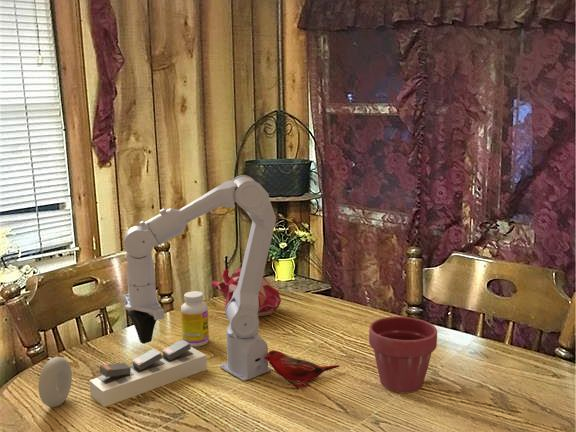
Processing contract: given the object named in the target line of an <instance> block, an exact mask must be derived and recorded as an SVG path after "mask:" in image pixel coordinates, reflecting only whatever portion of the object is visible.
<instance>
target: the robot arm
mask: <svg viewBox="0 0 576 432" xmlns="http://www.w3.org/2000/svg"><path fill="white" fill-rule="evenodd" d="M269 194H270V193H268V192H267V191H266V189H265V188H264V187H263V186H262V184H261V183H259V182H257V181H255V179H254V178H252V177H251V176H249V175H245V174H241V175H238V176H235V177H234V178H233V179H232V180H231V179H230V180H225V181H224V182H223V183H221V184H219V185H218V186H215V188H212V189H211V190H209V191H208V192H205V194H202V195H201V196H199V197H198V198H196V199H195V200H193V201H190V203H188V204H186V205H184V206H183V207H181V208H179V209H178V208H173V207H169V208H168V209H165V208H162V209H160V210H159V214H157V215H155V216H153V217H152V218H150V219H148V220H146V221H144V220H142V221H140V222H139V225H134V226H131V227H130V228H129V229H127V231H126V233H125V234H124V238H123V245H124V249H125V251H126V254H125V259H126V263H125V267H126V268H125V269H126V279H127V289H128V290H127V292H128V293H126V294H123V295H122V297H123V303H124V309H125V310H127V311H128V312H127V315H128V317H129V318H130V320H131V322H132V323H133V325H134V328H135V330H136V333H137V337H138V339H139V342H140V343H141V344H143V345H144V344H147V343H150V342H152V341H153V335H154V329H155V326H156V323H157V321H159V320H162V319H165V309H164V308H163V307H162V306H161V304H160V303H159V301H158V298H157V293H156V291H157V289H156V277H155V276H156V275H155V263H154V262H155V261H154V259H153V256H152V254H153V252H152V251H153V249H154V247H157V246H160V245H162V244H163V243H165V242H167V241H169V240H171V239H172V238H175V237H176V236H178V235H180V234H182V233H184V231H185V229H186V226H187V224H188V223H189V222H191V221H194V220H195V219H198V218H199V217H201V216H204V215H205V214H208V213H209V212H211V211H214V210H216V209H217V208H219V207H222V208H223V207H224V208H232V209H235V208H236V206H235V203H237V205H238V206H239V208H241V209H243V211H245V212H246V214H247V215H248V216H249V218H250V219H251V225H250V229H249V230H250V231H249V235H248V239H247V243H246V248H245V252H244V256H243V259H242V265H241V268H240V269H241V272H240V277H239V281H238V285H237V288H236V289H235V291H234V292H233V296H232V299H231V300H230V301H229V303H228V304H227V306H226V309H224V310H225V311H224V313H225V317H226V318H227V320H228V322H229V324H228V326H227V327H226V330H225V331H226V332H225V333H226V336H225V337H226V350H227V351H226V356H227V359H226V361H227V362H225V363H222V364H220V365H219V368H221V369H222V370H223V371H225V372H227V373H228V374H231V375H232V376H234V377H236V378H238V379H239V380H241V381H244V382H245V381H248V380H251V379H253V378H256V377H257V376H261V375H263V374H265V373H268V372H270V371H272V367H270V366H269V361H268V360H267V359H263V358H264V357H265V356H267V354H268V353H269V349H268V346H269V345H268V344H267V342H266V340H264V339H263V338H262V337H261V335H260V332H259V326H260V319H259V317H258V309H259V301H258V294H259V290H260V285H261V281H262V277H264V273H265V268H266V264H267V260H268V255H269V251H270V247H271V243H272V238H273V235H274V230H275V226H276V220H277V216H276V214H275V211H274V207H273V206H272V202H271V200H270V195H269Z"/></svg>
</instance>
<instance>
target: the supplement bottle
mask: <svg viewBox="0 0 576 432" xmlns="http://www.w3.org/2000/svg"><path fill="white" fill-rule="evenodd" d="M183 296H184V297H183V298H184V299H183V300H184V303H182V305H181V306H180V315H181V316H180V317H181V335H182V336H181V337H182V339H181V340H184V341H186V342H188V343H190V347H193V348H197V347H201V346H205V345H206V344H208V343H209V340H210V339H209V338H210V337H209V333H210V332H209V330H210V329H209V313H208V312H209V311H208V310H209V309H208V308H209V307H208V304H207V303H206V302H204V301H203V300H204V293H203V292H201V291H196V290H195V291H193V290H192V291H188V292H185V293H184V295H183Z"/></svg>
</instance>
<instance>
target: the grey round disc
mask: <svg viewBox="0 0 576 432" xmlns="http://www.w3.org/2000/svg"><path fill="white" fill-rule="evenodd" d="M72 376H73V372H72V367H71V365H70V363H69V361H68V360H67V359H66V358H64V357H60V356H55V357H52V358H50V359H49V360H47V362H45V364H44V365H43V367H42V369H41V370H40V375H39V377H38V378H39V379H38V395H39V399H41V402H42V403H43V404H44V405H45V406H46V407H50V408H54V407H55V408H56V407H59V406H60V405H62V404H63V403H64V402H65V401H66V399H67V398H68V396H69V393H70V391H71V388H72V381H73V377H72Z"/></svg>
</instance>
